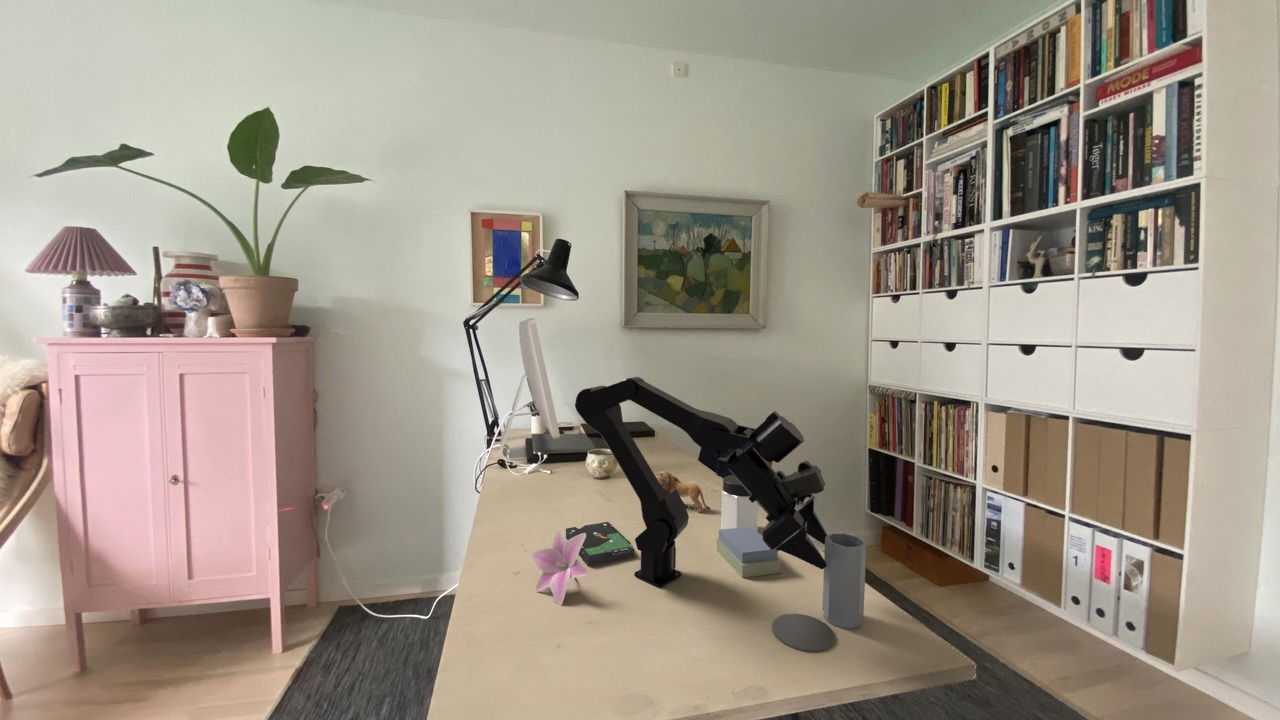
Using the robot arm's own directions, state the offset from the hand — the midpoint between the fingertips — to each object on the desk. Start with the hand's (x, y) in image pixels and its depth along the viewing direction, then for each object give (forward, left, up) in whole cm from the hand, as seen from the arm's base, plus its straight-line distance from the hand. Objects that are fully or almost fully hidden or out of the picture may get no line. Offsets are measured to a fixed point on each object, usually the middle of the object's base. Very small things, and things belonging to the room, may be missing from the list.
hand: (827, 555), depth 80 cm
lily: (-25, +38, -10) cm, 46 cm away
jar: (+20, +28, -10) cm, 36 cm away
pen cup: (+1, -2, -10) cm, 10 cm away
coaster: (-7, +1, -10) cm, 12 cm away
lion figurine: (+22, +47, -10) cm, 53 cm away
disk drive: (-8, +45, -11) cm, 47 cm away
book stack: (+8, +19, -10) cm, 23 cm away
